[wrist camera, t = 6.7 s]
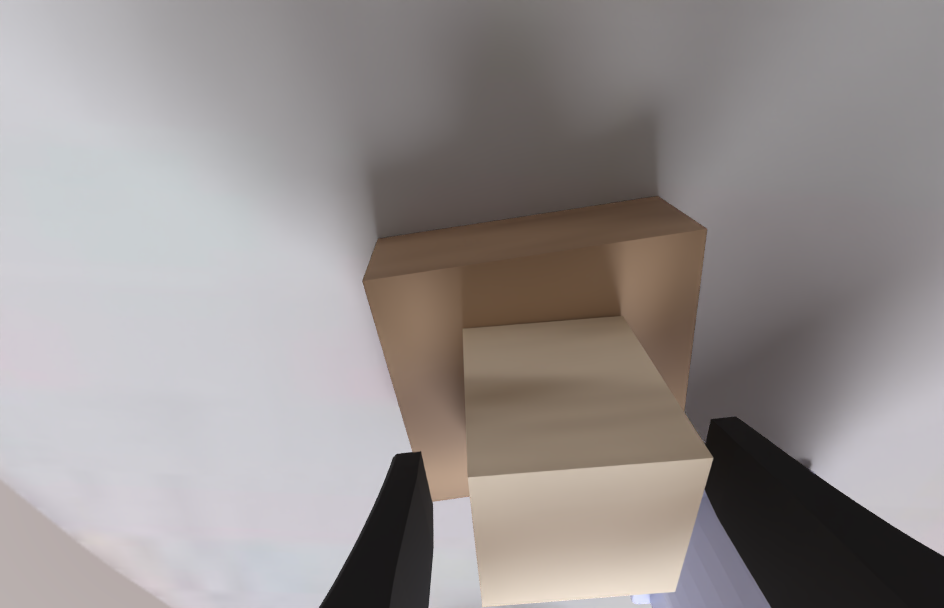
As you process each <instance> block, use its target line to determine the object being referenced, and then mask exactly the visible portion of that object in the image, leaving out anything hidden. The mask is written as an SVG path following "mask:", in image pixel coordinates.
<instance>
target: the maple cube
mask: <svg viewBox="0 0 944 608" xmlns="http://www.w3.org/2000/svg"><path fill="white" fill-rule="evenodd" d="M463 357H464V386H465V415H466V444H467V473H468V485H469V494H470V502H471V511H472V520H473V529H474V537H475V546H476V555H477V564H478V573H479V581H480V590H481V599H482V607H490V606H503V605H515V604H528V603H541V602H553V601H566V600H579V599H592V598H604V597H617V596H630V595H642V594H655V593H668V592H675V591H676V587H677V584H678V580H679V577H680V573H681V570H682V566H683V563H684V559H685V556H686V552H687V549H688V545H689V542H690V538H691V535H692V531H693V528H694V524H695V521H696V517H697V514H698V510H699V507H700V503H701V500H702V496H703V493H704V489H705V486H706V482H707V479H708V475H709V472H710V468H711V465H712V461H713V456H712V455H711V453H710V452H709V450H708V449H707V447H706V446H705V444H704V442H703V441H702V439H701V438H700V436H699V435H698V433H697V431H696V430H695V428H694V427H693V425H692V424H691V422H690V420H689V419H688V417H687V416H686V414H685V413H684V411H683V409H682V408H681V406H680V405H679V403H678V402H677V400H676V399H675V397H674V395H673V394H672V392H671V391H670V389H669V388H668V386H667V384H666V383H665V381H664V380H663V378H662V377H661V375H660V373H659V372H658V370H657V369H656V367H655V366H654V364H653V362H652V361H651V359H650V358H649V356H648V355H647V353H646V351H645V350H644V348H643V347H642V345H641V344H640V342H639V341H638V339H637V337H636V336H635V334H634V333H633V331H632V330H631V328H630V326H629V325H628V323H627V322H626V320H625V319H624V317H623V316H615V317H602V318H590V319H577V320H565V321H553V322H540V323H528V324H515V325H503V326H491V327H478V328H466V329H463Z"/></svg>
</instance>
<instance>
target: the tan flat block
mask: <svg viewBox="0 0 944 608" xmlns="http://www.w3.org/2000/svg"><path fill="white" fill-rule="evenodd" d="M706 235H707V228H705V227H704V226H702V225H701V224H699V223H698V222H696V221H695V220H693V219H692V218H690V217H689V216H687V215H686V214H684V213H683V212H681V211H680V210H678V209H677V208H675V207H674V206H672V205H671V204H669V203H668V202H666V201H665V200H663V199H662V198H660V197H659V196H654V197H648V198H641V199H635V200H628V201H622V202H615V203H609V204H602V205H595V206H589V207H582V208H576V209H569V210H563V211H556V212H550V213H543V214H536V215H530V216H523V217H517V218H510V219H504V220H497V221H491V222H484V223H477V224H471V225H464V226H458V227H451V228H445V229H438V230H432V231H425V232H418V233H412V234H405V235H399V236H392V237H386V238H379V239H378V240H377V242H376V245H375V248H374V251H373V253H372V256H371V259H370V261H369V264H368V267H367V270H366V272H365V275H364V278H363V281H362V282H363V285H364V289H365V292H366V295H367V299H368V302H369V306H370V309H371V312H372V316H373V319H374V323H375V326H376V329H377V333H378V336H379V340H380V343H381V346H382V350H383V353H384V356H385V360H386V363H387V367H388V370H389V373H390V377H391V380H392V384H393V387H394V390H395V394H396V397H397V401H398V404H399V407H400V411H401V414H402V418H403V421H404V424H405V428H406V431H407V435H408V438H409V441H410V445H411V448H412V452H419V451H421V453H422V458H423V462H424V467H425V471H426V476H427V480H428V485H429V489H430V494H431V498H432V502H434V501H441V500H448V499H455V498H462V497H470V494H469V485H468V473H467V444H466V415H465V386H464V357H463V329H466V328H478V327H491V326H503V325H515V324H528V323H540V322H553V321H565V320H577V319H590V318H602V317H615V316H623V317H624V319H625V320H626V322H627V323H628V325H629V326H630V328H631V330H632V331H633V333H634V334H635V336H636V337H637V339H638V341H639V342H640V344H641V345H642V347H643V348H644V350H645V351H646V353H647V355H648V356H649V358H650V359H651V361H652V362H653V364H654V366H655V367H656V369H657V370H658V372H659V373H660V375H661V377H662V378H663V380H664V381H665V383H666V384H667V386H668V388H669V389H670V391H671V392H672V394H673V395H674V397H675V399H676V400H677V402H678V403H679V405H680V406H681V408H682V409H683V411H684V409H685V401H686V393H687V386H688V378H689V370H690V362H691V354H692V346H693V338H694V330H695V322H696V314H697V306H698V298H699V291H700V283H701V275H702V267H703V259H704V251H705V243H706Z"/></svg>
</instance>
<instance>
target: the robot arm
mask: <svg viewBox="0 0 944 608" xmlns="http://www.w3.org/2000/svg"><path fill="white" fill-rule="evenodd" d="M705 446H706V447H707V449H708V450H709V452H710V453H711V455H712V456H713V461H712V465H711V468H710V472H709V475H708V479H707V482H706V486H705V489H704V493H703V496H702V500H701V503H700V507H699V510H698V514H697V517H696V521H695V524H694V528H693V531H692V535H691V538H690V542H689V545H688V549H687V552H686V556H685V559H684V563H683V566H682V570H681V573H680V577H679V580H678V584H677V587H676V591H675V592H668V593H655V594H642V595H630V597H631V600H632V602H633V603H635V604H647V603H651V606H652V608H944V556H942V555H940V554H939V553H937V552H935V551H934V550H932V549H930V548H928V547H927V546H925V545H923V544H922V543H920V542H918V541H916V540H915V539H913V538H911V537H910V536H908V535H907V534H905V533H903V532H902V531H900V530H898V529H897V528H895V527H894V526H892V525H890V524H889V523H887V522H886V521H884V520H883V519H881V518H880V517H878V516H877V515H875V514H873V513H872V512H870V511H869V510H867V509H866V508H864V507H863V506H861V505H860V504H858V503H856V502H855V501H854V500H852V499H851V498H849V497H848V496H846V495H845V494H843V493H842V492H840V491H839V490H837V489H836V488H834V487H833V486H831V485H830V484H829V483H827V482H826V481H824V480H823V479H821V478H820V477H819V476H817V475H816V474H815V473H814V472H813V471H811V470H809V469H807V468H806V467H805V466H803V465H802V464H800V463H799V462H798V461H796V460H795V459H793V458H792V457H791V456H789V455H788V454H787V453H785V452H784V451H783V450H781V449H780V448H778V447H777V446H776V445H774V444H773V443H772V442H770V441H769V440H768V439H766V438H765V437H763V436H762V435H761V434H759V433H758V432H757V431H755V430H754V429H753V428H751V427H750V426H748V425H747V424H746V423H744V422H743V421H741V420H740V419H739V418H737V417H727V418H718V419H711V422H710V426H709V431H708V435H707V440H706V444H705ZM432 560H433V503H432V498H431V494H430V489H429V485H428V480H427V476H426V471H425V467H424V462H423V458H422V453H421V451H419V452H410V453H401V454H396V455H395V456H394V457H393V459H392V462H391V465H390V468H389V470H388V473H387V476H386V478H385V481H384V483H383V485H382V488H381V490H380V493H379V495H378V497H377V499H376V502H375V504H374V506H373V508H372V510H371V513H370V515H369V517H368V519H367V521H366V523H365V525H364V527H363V529H362V531H361V533H360V535H359V537H358V539H357V541H356V543H355V545H354V547H353V549H352V551H351V553H350V554H349V556H348V558H347V560H346V562H345V564H344V565H343V567H342V569H341V571H340V573H339V575H338V577H337V578H336V580H335V582H334V584H333V585H332V587H331V589H330V590H329V592H328V594H327V595H326V597H325V599H324V600H323V602H322V604H321V605H320V607H319V608H428V606H429V595H430V583H431V571H432Z"/></svg>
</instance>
